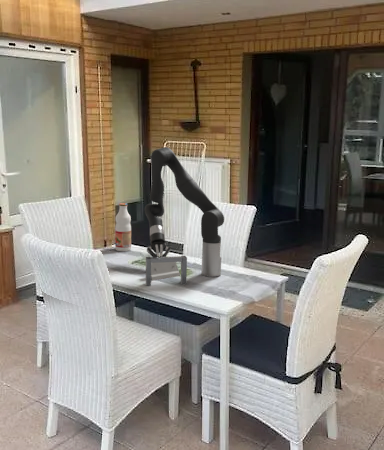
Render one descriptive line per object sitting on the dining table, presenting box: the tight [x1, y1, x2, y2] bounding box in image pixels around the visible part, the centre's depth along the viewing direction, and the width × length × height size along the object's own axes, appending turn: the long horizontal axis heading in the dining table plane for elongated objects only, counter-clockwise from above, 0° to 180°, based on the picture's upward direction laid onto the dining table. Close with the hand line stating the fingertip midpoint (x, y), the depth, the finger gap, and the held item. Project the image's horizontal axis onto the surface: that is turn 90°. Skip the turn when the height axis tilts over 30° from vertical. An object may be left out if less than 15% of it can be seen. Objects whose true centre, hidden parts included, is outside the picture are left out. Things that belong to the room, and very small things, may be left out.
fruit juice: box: [114, 202, 132, 252], centre depth 294 cm, size 9×9×28 cm
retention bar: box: [145, 255, 188, 287], centre depth 234 cm, size 19×4×13 cm, turn 102°
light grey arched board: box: [151, 262, 181, 282], centre depth 247 cm, size 17×5×10 cm, turn 124°
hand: (160, 264), depth 253 cm, fingers closed
